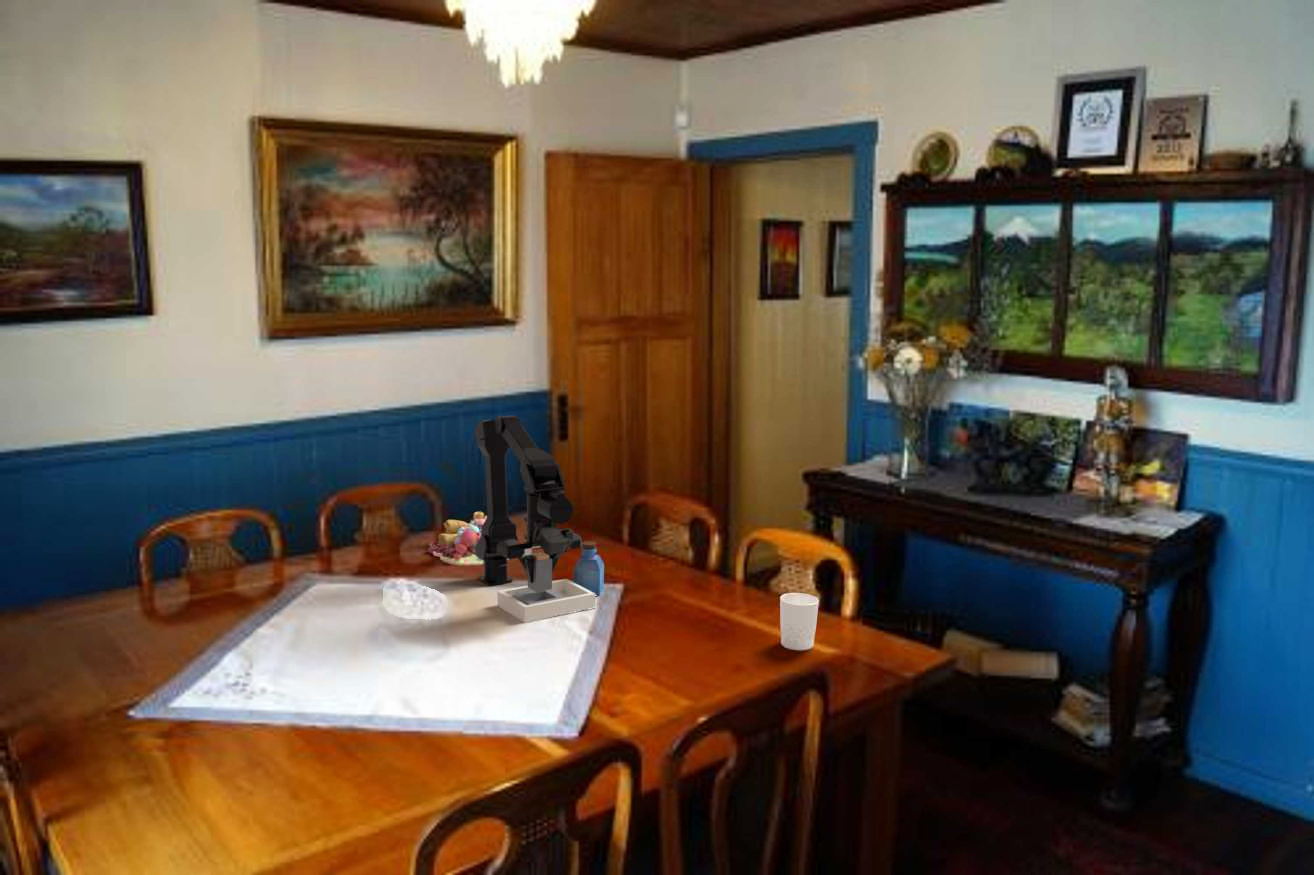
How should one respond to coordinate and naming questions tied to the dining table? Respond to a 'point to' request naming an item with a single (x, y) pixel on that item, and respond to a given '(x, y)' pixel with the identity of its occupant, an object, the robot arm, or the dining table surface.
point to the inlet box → (545, 600)
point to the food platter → (459, 541)
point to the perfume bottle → (590, 569)
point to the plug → (541, 572)
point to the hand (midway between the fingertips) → (539, 581)
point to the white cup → (798, 620)
